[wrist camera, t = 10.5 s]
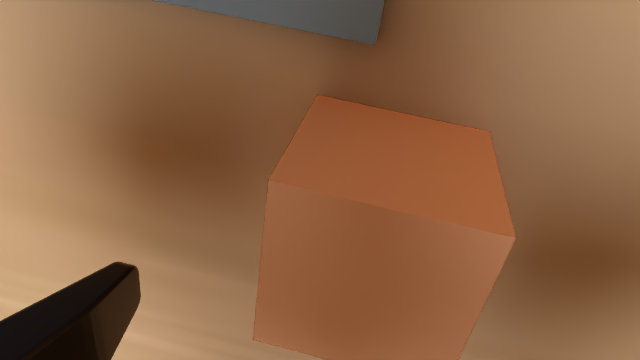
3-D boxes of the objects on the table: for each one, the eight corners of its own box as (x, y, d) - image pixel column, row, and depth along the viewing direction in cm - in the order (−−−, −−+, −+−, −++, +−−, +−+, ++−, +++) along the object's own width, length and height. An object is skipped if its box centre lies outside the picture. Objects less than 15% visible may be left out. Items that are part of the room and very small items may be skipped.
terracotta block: (440, 261, 14) (443, 390, 11) (298, 226, 15) (252, 339, 11) (489, 130, 12) (516, 238, 8) (318, 93, 12) (268, 180, 9)
